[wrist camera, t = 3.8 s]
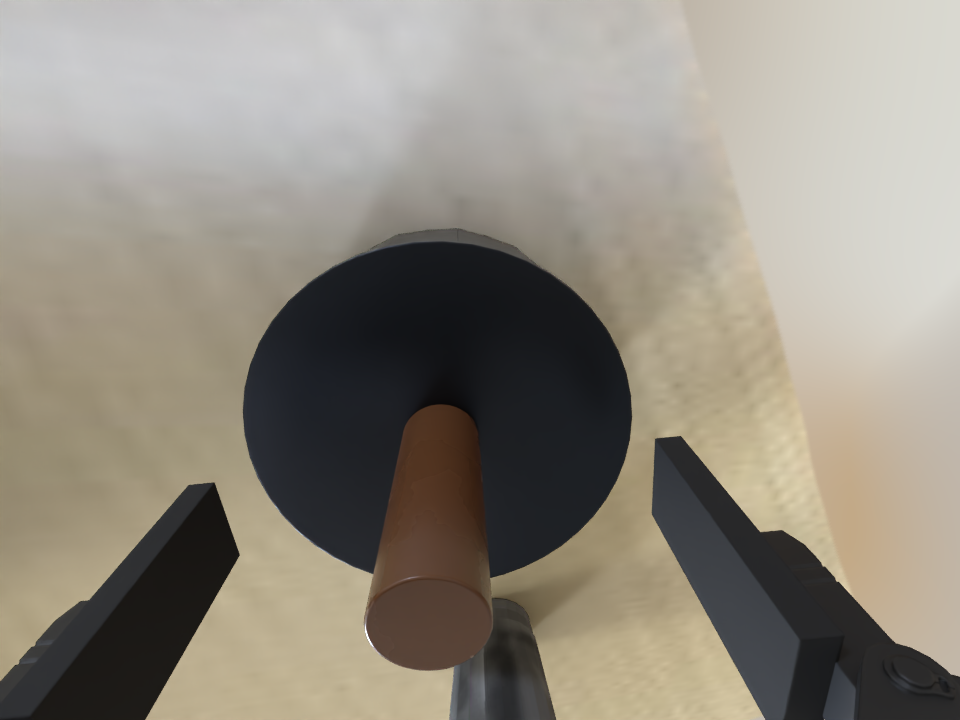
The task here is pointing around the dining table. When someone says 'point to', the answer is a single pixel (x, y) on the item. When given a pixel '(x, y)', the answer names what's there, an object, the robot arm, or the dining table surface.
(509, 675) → the beverage cup
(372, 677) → the dining table surface
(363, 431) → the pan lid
